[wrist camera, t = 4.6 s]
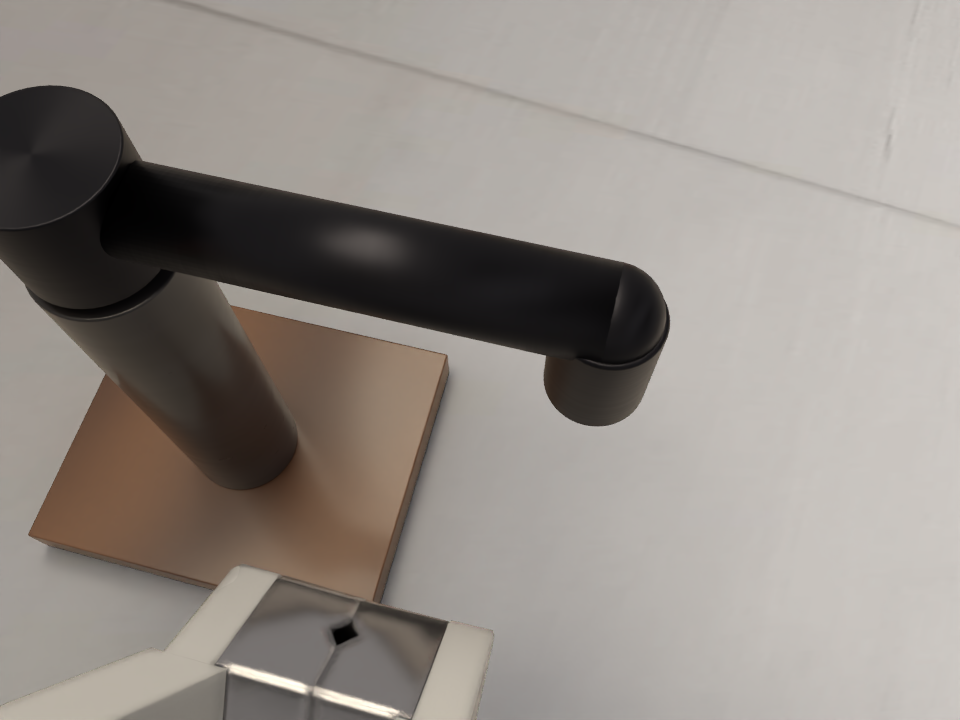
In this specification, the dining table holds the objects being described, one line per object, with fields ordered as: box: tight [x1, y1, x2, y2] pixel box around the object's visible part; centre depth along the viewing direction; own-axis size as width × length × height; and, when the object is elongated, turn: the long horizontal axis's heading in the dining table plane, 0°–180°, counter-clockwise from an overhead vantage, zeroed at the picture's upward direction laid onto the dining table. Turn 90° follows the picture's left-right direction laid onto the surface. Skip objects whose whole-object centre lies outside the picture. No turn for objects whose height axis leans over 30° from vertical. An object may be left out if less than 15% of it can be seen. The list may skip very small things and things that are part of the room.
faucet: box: [25, 269, 449, 603], centre depth 26 cm, size 12×10×14 cm
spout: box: [0, 85, 670, 426], centre depth 18 cm, size 14×3×4 cm, turn 76°
